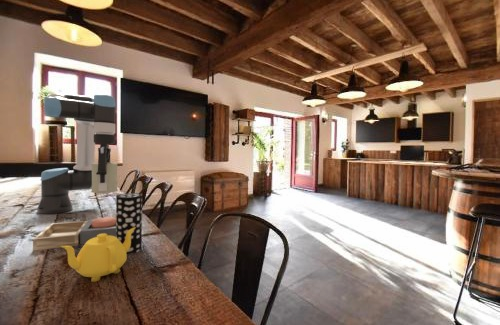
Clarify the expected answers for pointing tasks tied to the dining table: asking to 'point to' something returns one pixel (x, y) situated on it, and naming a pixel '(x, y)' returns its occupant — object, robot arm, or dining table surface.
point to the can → (110, 178)
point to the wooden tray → (59, 235)
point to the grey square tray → (94, 232)
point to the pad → (104, 222)
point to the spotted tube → (129, 219)
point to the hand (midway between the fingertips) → (104, 188)
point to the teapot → (100, 256)
